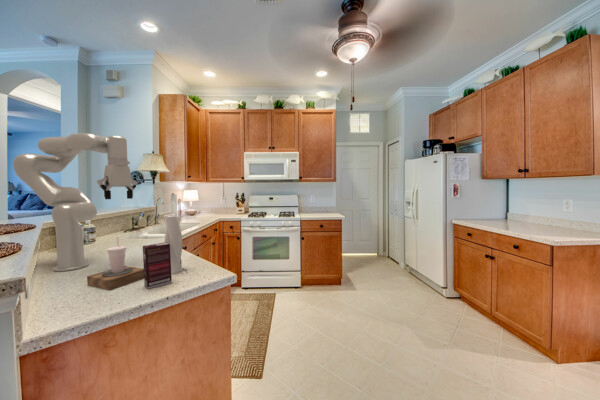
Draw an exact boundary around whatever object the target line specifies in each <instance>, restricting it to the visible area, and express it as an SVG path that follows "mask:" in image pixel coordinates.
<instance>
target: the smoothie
mask: <svg viewBox="0 0 600 400" xmlns="http://www.w3.org/2000/svg"><path fill="white" fill-rule="evenodd" d="M119 240H120V239H119V236H116V246H113V247H108V248H107V249H106V252H107V254H108V260H109V264H110V270H112V273H118V272H122V271H123V270H124V266H125V259H126V250H127V246H125V245H121V246H120V244H119Z"/></svg>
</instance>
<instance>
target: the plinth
mask: <svg viewBox="0 0 600 400" xmlns="http://www.w3.org/2000/svg"><path fill="white" fill-rule="evenodd" d="M86 278H87V279H86V281H87V287H88V286H89V287H95V288H99V289H103V290H108V291H113V290H115V289H117V288H120V287H121V288H122V287H123V286H126V285H129V284H132V283H134V282H138V281H141V280H144V268H141V267H135V266H128V265H124V270H123V271H122V272H118V273H112V270H111V269H108V270H104V271H101V272H97V273H95V274H91V275H87V276H86Z"/></svg>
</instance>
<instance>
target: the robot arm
mask: <svg viewBox="0 0 600 400" xmlns="http://www.w3.org/2000/svg"><path fill="white" fill-rule="evenodd" d="M37 147H38V149H39V150H40V151H41V152H42V153H44V154H38V153H37V154H36V153H22V154H18V155H17V156H15V157H14V159H13V162H12V166H13V171H14V172H15V174H16V176H17V177H18V178H19V179H20V180H21V181H23V183H24V184H26V185H27V186H28V187H29V188H30V189H31V190H32V191H33V192H34V194H35V195H37V197H38V198H39V199H40V200H41V201H42V202H43V203H44V204H45V205H47V206H50V207H52V209H51V217H52V220H53V224H54V230H55V240H56V243H55V244H56V245H55V246H56V265H55V266H54V267H52V271H53V272H67V271H73V270H79V269H82V268H85V267H88V265H89V261H85V249H84V248H85V247H84V245H85V244H84V230H83V227H82V225H81V224H80V222H85V221H90V220H93V219H95V217H96V216H97V214H98V211H97V210H98V209H97V207H96V206H95V204H94V202H92V201H91V200H90V199H89V198H88V196H86V194H85V193H84V192H83V191H82V190H80V189H79V188H76V187H74V186H73V187H72V186H71V187H70V186H61V185H59V184H57V183H56V181H55V180H54V179H52V178H51V177H50V176H49V175H47V174H45V173H49V174H54V173H60V172H62V171H64V170H65V168H66V167H68V165H69V164H70V163H71V162H72V161H73V160H74V159H75V158H76V157H77V155H79V154H81V153H82V152H83V151H89V152H90V151H91V152H97V153H103V154H106V155H107V156H106V157H107V164H106V165H105V167H104V171H103V172H104V173H103V177H102V178H101V179H98V180H96V183H97V185H98V187H99V188H101V190H102V191H103V196H104V198H105V200H111V199H112V191H111V188H112V187H113V188H116V187H117V188H118V187H119V188H121V187H122V188H124V187H125V188H126V189H127V190H126V199H129V200H130V199H133V197H134V190H135V189H136V188H137V185H138V184H139V182H138V181H137V180H135V179H134V178H132V174H131V173H132V172H131V169H130V168H131V167H130V166H129V165H130V164H131V161H129V160H128V141H127V138H126V137H123V136H120V135H108V136H102V135H99V134H93V133H87V132H85V133H84V132H83V133H81V132H79V133H78V132H77V133H71V134H69V135H67V136H47V137H43V138H41V139H40V140H38V142H37Z"/></svg>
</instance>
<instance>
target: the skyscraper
mask: <svg viewBox="0 0 600 400" xmlns="http://www.w3.org/2000/svg"><path fill="white" fill-rule="evenodd" d="M177 213H179V215H177ZM163 219H164V222H165V223H164V224H165V232H164V242H167V243H169V244H170V257H171V275H175V274H179V273H182V272H187V271H188V270H187V269H185V268H183V267H182V252H183V234H182V228H181V226H180V223H181V220H182V213H181V212H180V211H179V210H176V211H175V212H174V213H171V214H165V215H163Z"/></svg>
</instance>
